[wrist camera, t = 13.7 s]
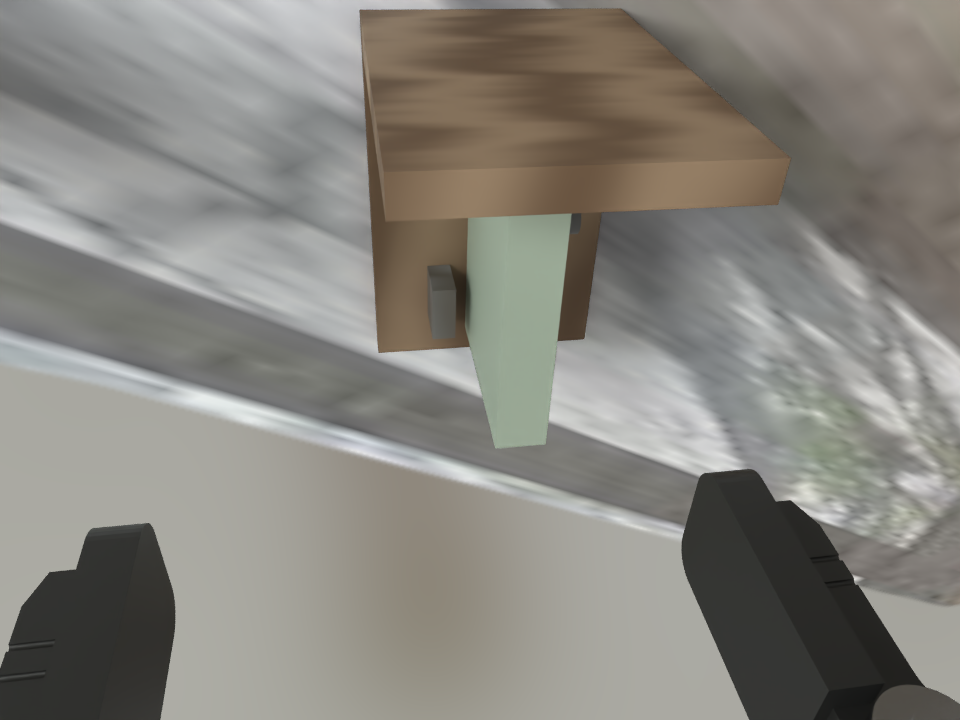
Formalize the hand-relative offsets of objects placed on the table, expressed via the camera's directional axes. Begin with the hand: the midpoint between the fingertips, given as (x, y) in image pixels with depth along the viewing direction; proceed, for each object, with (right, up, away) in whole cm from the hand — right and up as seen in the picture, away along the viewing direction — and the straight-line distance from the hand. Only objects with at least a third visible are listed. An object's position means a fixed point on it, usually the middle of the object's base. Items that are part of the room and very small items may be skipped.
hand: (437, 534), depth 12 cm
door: (+1, +9, +30) cm, 31 cm away
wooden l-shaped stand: (+1, +11, +30) cm, 32 cm away
